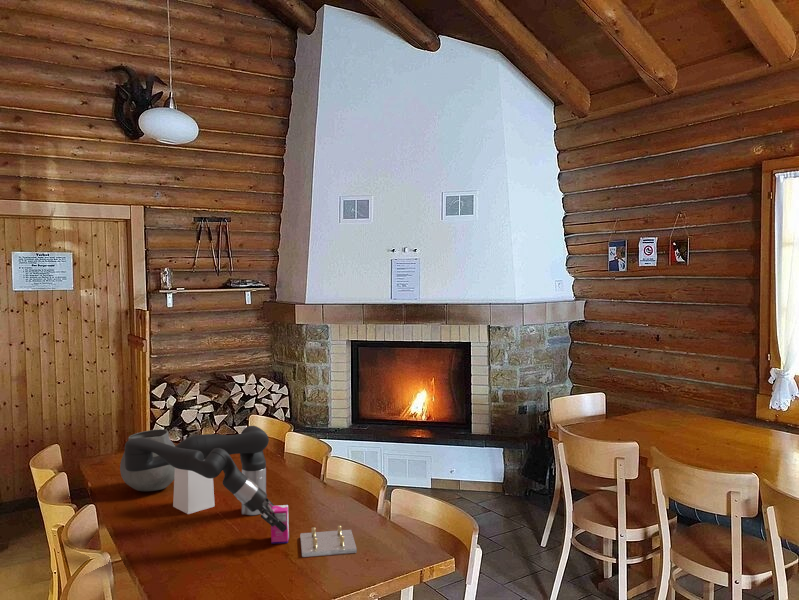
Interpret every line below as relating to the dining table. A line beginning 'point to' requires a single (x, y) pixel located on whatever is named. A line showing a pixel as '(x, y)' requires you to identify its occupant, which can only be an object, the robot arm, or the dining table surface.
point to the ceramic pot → (151, 477)
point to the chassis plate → (327, 542)
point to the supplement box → (282, 515)
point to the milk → (192, 491)
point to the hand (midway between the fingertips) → (284, 526)
